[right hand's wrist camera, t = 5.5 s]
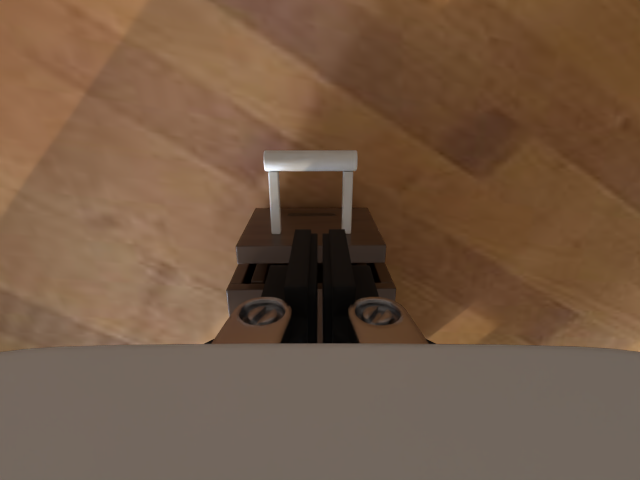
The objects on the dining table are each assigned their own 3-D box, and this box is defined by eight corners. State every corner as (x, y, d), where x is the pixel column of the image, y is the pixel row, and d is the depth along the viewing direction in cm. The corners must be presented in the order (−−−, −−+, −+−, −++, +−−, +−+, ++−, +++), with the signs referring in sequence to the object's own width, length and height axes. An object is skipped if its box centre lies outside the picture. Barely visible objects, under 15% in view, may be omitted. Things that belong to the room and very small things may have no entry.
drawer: (250, 140, 27) (226, 156, 19) (371, 140, 27) (393, 155, 19) (266, 370, 35) (254, 444, 27) (359, 369, 35) (371, 442, 28)
